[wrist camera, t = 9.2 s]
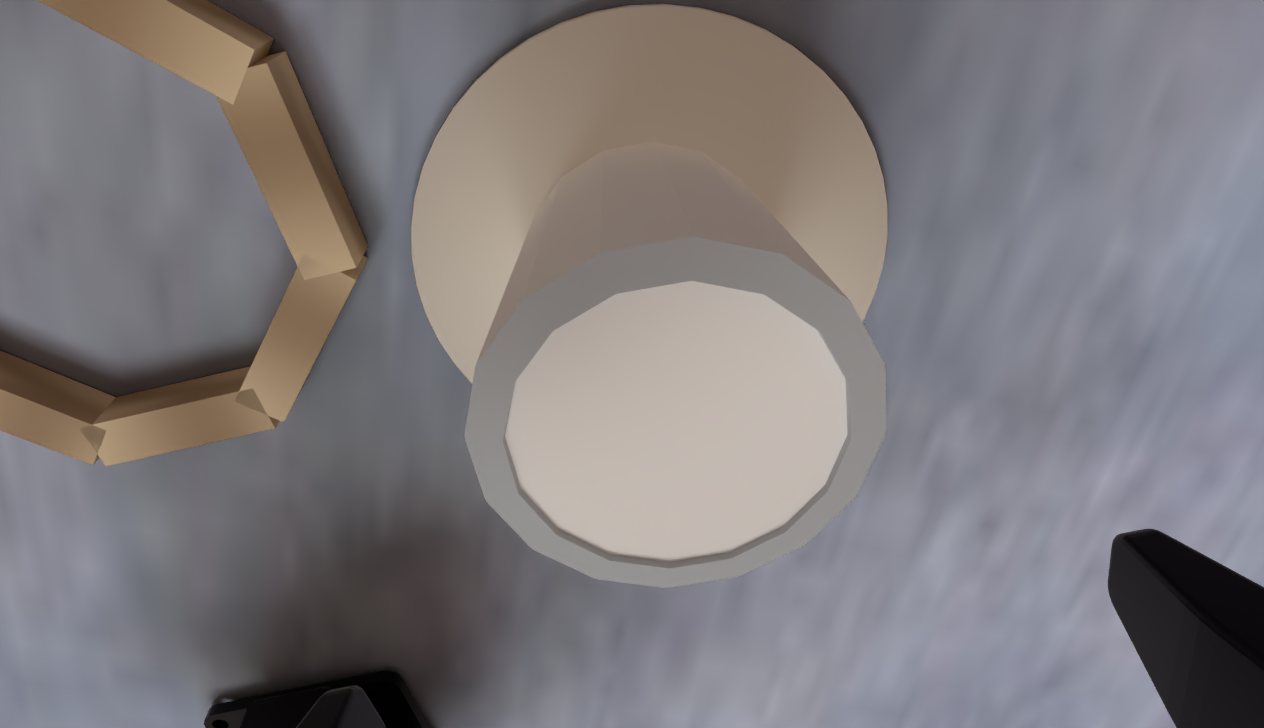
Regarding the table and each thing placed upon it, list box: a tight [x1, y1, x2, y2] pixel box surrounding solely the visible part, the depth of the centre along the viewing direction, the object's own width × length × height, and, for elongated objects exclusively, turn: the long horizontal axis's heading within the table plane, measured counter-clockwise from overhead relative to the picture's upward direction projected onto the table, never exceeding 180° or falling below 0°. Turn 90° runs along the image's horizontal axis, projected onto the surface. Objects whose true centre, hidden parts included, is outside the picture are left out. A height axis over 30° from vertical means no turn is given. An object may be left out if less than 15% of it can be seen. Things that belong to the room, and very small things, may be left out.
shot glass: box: [464, 141, 886, 588], centre depth 16 cm, size 7×7×7 cm
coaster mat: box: [411, 4, 887, 383], centre depth 20 cm, size 11×11×1 cm
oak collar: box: [0, 0, 368, 466], centre depth 18 cm, size 11×11×1 cm
